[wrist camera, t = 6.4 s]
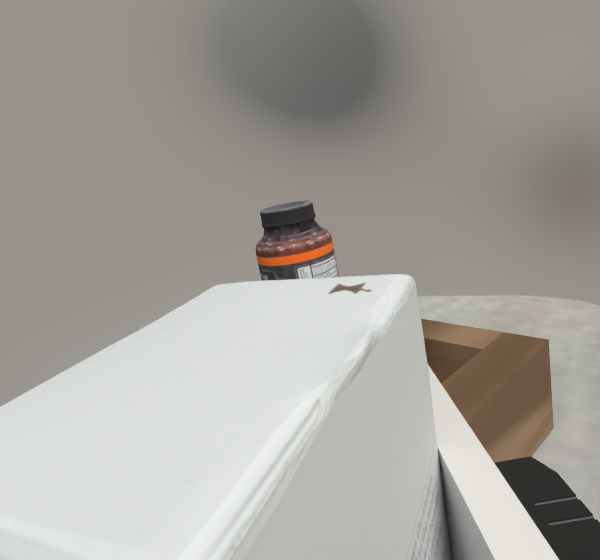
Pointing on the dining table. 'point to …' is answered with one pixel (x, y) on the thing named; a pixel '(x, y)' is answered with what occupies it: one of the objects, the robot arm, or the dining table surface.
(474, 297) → the dining table surface
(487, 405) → the walnut tray
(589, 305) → the dining table surface
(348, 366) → the skincare box
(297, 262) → the supplement bottle
